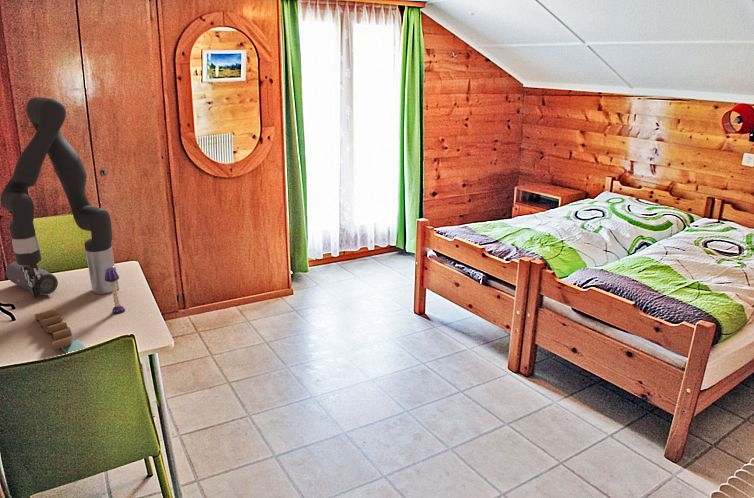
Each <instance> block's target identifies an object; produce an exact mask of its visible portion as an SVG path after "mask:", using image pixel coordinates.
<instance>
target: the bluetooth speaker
mask: <svg viewBox="0 0 754 498" xmlns="http://www.w3.org/2000/svg"><path fill="white" fill-rule="evenodd" d="M22 267H23V265H18V264H17V263H16V261H13V262H11V263H10V264H9V265H8V266H7V267H6V268H5V276H6V278H7V280H8V281H10V282H11V283H14V284H15V285H16V286H19V287H20V288H23V289H25V290H26V291H28V292H30V293H32V292H31V288H30V286H29V283H27V282H26V280H25V278H24V275H23V273H22V271H21V268H22ZM39 270H40V271H39V274H42V275H43V279H42V284H41V285H39V289H40V296H41V295H42V296H48V295H50V294H52V293H54V292H55V291H56V290H57V289H58V284H59V281H58V279H57V277H56V276H55V275H54V274H52V273H50V272H49V271H47V270H45V269H44V268H40V267H39Z"/></svg>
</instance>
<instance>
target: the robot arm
mask: <svg viewBox="0 0 754 498" xmlns="http://www.w3.org/2000/svg"><path fill="white" fill-rule="evenodd" d="M25 111H26V112H25V113H26V114H27V118H28V119H29V122H30V123H31V125H32V127H33V128H34V130H35V133H34V136H33V137H32V139H31V140H30V142H29V143H28V144H27V145H26V147H25V148H24V149H23V150H22V152H21V153H20V155H19V157H18V159H17V161H16V164H15V167H14V170H13V173H12V176H11V178H10V179H9V180H8V182H7V183H6V186H5V187H4V188H3V190H2V191H1V192H2V193H1V195H0V205H1V207H2V208H3V209H4V210H5V211H8V212H10V213H11V212H12V220H11V221H10V222H9V223H8V224H9V232H10V235H11V236H10V237H11V242H12V243H11V244H12V249H13V254H14V259H15V262H16V263H17V264H18V265H23V267H22V268H21V271H22V273H23V275H24V278H25V280H26V282H27V283H29V286H30V288H31V292H30V293H31V296H33V297H35V298H36V297H39V296H41V294H40V289H39V285H41V284H42V279H43V275H42V274H39V271H40V270H39V268H40V266H38V263H40V262H41V261H42V254H41V249H40V244H39V240H38V238H37V234H36V229H35V228H36V227H35V224H34V218H35V204H34V201H33V199H32V197H31V196H30V195H29V194H27V192H28V190H29V189H30V188H31V187H34V186H35V185H36V183H37V182H38V178H39V175H40V173H41V170H42V167H43V164H44V161H45V159H46V157H47V156H48V157H49V160H50V162H51V165H52V167H53V170H54V172H55V174H56V176H57V178H58V181H59V182H60V185H61V187H62V189H63V191H64V194H65V197H66V198H67V201H68V204H69V207H70V209H71V210H70V211H71V213H72V216H73V219H74V222H75V224H76V225H77V227H78V228H79V229H80V230H82V231H87V232H90V233H91V234H90V235H91V238H90V239H88V240H86V241H85V242H84V244H83V245H84V251H85V257H86V262H87V267H88V269H87V270H88V273H89V279H90V285H91V290H92V293H93V294H97V295H102V294H110V293H112V292H113V291H112V287H111V283H110V282H107V281H105V271H106V269H107V268H110V267H113V268H115V270H116V271H117V267H116V264H115V259H114V252H113V246H112V245H113V244H112V240H113V228H112V220H111V215H110V213H109V212H108V210H107V209H105V208H103V207H97V206H92V205H91V204H90V202H89V199H88V196H87V194H86V186H87V185H86V183H87V170H86V168H85V166H84V164H83V162H82V158H81V157H80V155H79V154H78V152H77V151H76V150H75V148H74V147H73V146H72V145H71V144H70V143H69V141H68V140H67V139H66V138H65V136H64V135H63V133H62V132H61V128H62V126H63V125H64V122H65V120H66V116H67V110H66V107H65V105H64V104H63V103H62V102H61V101H60V100H57V99H55V98H49V97H43V96H35V97H32V98H31V99H29V100H28V101H27V103H26V109H25ZM118 280H119V279H118ZM118 280H116V282H115V283H116V287H117V291H118V290H120V286H119V281H118Z"/></svg>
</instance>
